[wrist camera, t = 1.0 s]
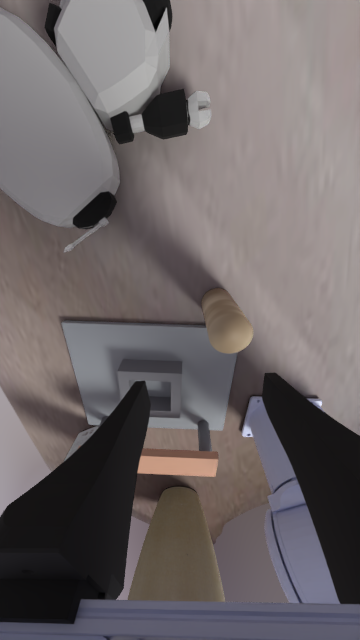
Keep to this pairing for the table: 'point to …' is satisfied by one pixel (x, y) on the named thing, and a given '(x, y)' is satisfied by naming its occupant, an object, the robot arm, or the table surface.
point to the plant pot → (177, 553)
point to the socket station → (155, 383)
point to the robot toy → (84, 104)
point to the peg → (225, 322)
